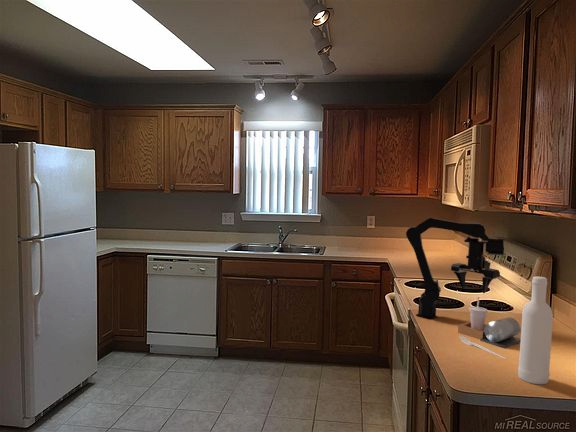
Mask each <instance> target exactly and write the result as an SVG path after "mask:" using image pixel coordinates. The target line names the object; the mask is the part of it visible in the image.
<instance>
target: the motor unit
mask: <svg viewBox="0 0 576 432" xmlns="http://www.w3.org/2000/svg"><path fill="white" fill-rule="evenodd" d="M457 325H458V326H457V333H459V334H461V335H464V336H468V337H471V338H475V339H478V340H480V341H481V342H482V343H486V344H490V345H492V346H496V347H499V348H503V349H507V348H509V347H511V346H513V345H516V344H520V342H521V337H520V338H519V337H517V336H518V335H519V334H520V333H521V326H520V323H519V322H518V321H517V319H515V318H514V317H510V316H509V317H505V318H504V317H502V318H500V319H497V320H494V321H490V322H488V323H487V324H486V323H484V328H483V331H481V330H478V329H474V328H471V320H470V321H468V322H463V323H459V324H457Z"/></svg>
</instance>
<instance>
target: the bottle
mask: <svg viewBox="0 0 576 432" xmlns="http://www.w3.org/2000/svg"><path fill="white" fill-rule="evenodd" d="M531 283H532V284H531V285H532V286H531V299H530V301H528V302H527V303H525V305H524V307H523V309H522V313H521V326H520V339H521V342H520V343H519V346H520V347H519V360H518V367H517V368H518V373H517V375H518V377H519V379H520V380H521V381H524V382H526V383H529V384H533V385H546V384H548V383H549V378H550V364H551V350H552V336H553V334H552V333H553V322H554V321H553V319H554V315H553V311H552V308H551V306H550V305H549V304H548V303H547V302H546V301H547V288H548V287H547V286H548V279H547V277H544V276H538V275H537V276H533V277H532V280H531Z"/></svg>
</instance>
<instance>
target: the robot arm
mask: <svg viewBox="0 0 576 432" xmlns="http://www.w3.org/2000/svg"><path fill="white" fill-rule="evenodd" d="M430 228H435V229H436V228H437V229H441V230H442V229H443V230H448V231H452V232H458V233H462V234H465V235H466V236H467V237H466V238H465V239H464V243H468V252H467V255H466V257H465V258H466V259H467V264H466V263H460V262H458V263H457V262H456V263H452V265H451V266H450V271H452V272H453V274H455V276H456V278H457V279H458V282H459V285H460V286H461V289H463V290H464V289H465V287H466V275H467V273H468V272H470V273H476V274H480V275H481V274H482V275H483V276H482V294H486V292H487V290H488V288H489V286H490V285H491V282H492V281H493V280H494V279H495V280H496V279H497V278H500V277H501V272H500V271H499V269H494V268H490V267H491V262H490V261H488V260H486V256H485V255H484V252H485V253H487V255H493V256H504V255H505V253H504V252H505V247H504V238H501V237H499V238H495V237H494V238H492V237H489V235H487V234H486V228H485V226H484V225H483V224H481V223H480V222H459V221H451V220H446V219H440V218H435V217H431V216H430V217H427V218H426V219H425V220H424V221H422V222H421V223H419V224H418V225H416V226H413V225H412V226H410V227H409V228H408V229H407V230H406V232H405V236H406V238H407V240H408V242H409V244H410V245H411V247H412V249H413V251H414V254H415V258H416V261H417V264H418V266H419V267H418V268H419V270H420V273H421V276H422V279H423V284H424V285H423V287H424V292H423V293H421V294H420V297H419V301H418V312H417V313H416V314H415V316H417V317H420V318H423V319H427V320H430V319H434V318H437V317H438V315H437V307H436V304H437V303H436V302H435V301H437V300H439V297H440V293H441V291H442V287H440V285H439V279H436V280H435V279H434V277H433V274H432V272H431V269H430V265H429V262H428V260H427V259H428V258H427V256H426V252H425V250H424V248H423V247H424V246H423V238H422V237H423V236H422V234H423V233H425V232H426V231H428V230H429V229H430ZM479 239H481V240H479ZM484 245H485V246H484Z"/></svg>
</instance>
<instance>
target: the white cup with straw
mask: <svg viewBox="0 0 576 432" xmlns="http://www.w3.org/2000/svg"><path fill="white" fill-rule="evenodd" d="M479 305H480V296H477V304H476V306H469V314H470V315H469V316H470V321H471V328H474V329H478V330H481V331H483V328H484V324H485V321H486V318H487V317H486V316H487V313H488V309H487V308H484V307H481V306H479Z"/></svg>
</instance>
